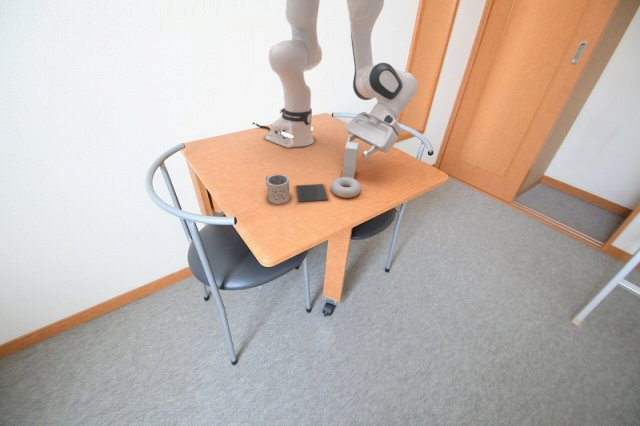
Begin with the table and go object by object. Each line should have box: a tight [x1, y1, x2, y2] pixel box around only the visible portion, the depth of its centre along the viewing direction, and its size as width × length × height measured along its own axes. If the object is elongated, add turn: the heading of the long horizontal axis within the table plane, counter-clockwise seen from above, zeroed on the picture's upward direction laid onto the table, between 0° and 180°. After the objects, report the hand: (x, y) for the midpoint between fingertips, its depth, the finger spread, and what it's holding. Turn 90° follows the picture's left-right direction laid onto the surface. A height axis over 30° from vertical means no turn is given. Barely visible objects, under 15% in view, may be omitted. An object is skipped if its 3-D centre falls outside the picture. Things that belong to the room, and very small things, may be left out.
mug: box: [265, 174, 291, 205], centre depth 85 cm, size 10×7×7 cm, turn 41°
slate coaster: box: [296, 183, 328, 203], centre depth 89 cm, size 9×9×1 cm
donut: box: [330, 176, 362, 199], centre depth 90 cm, size 10×4×10 cm
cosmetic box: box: [341, 141, 360, 179], centre depth 95 cm, size 6×4×12 cm
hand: (355, 151), depth 94 cm, fingers open, 8 cm apart
